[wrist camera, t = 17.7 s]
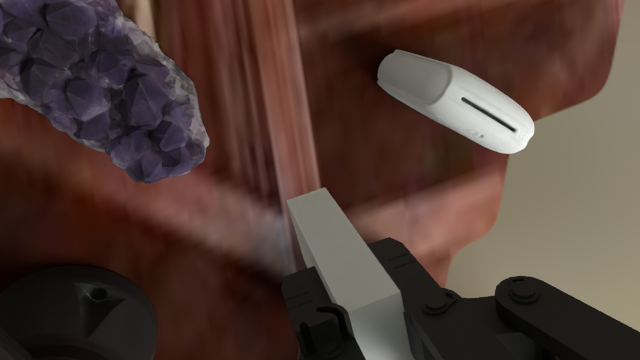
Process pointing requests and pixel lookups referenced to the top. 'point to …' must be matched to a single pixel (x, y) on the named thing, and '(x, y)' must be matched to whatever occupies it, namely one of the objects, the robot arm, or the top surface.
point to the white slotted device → (456, 100)
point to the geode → (102, 84)
